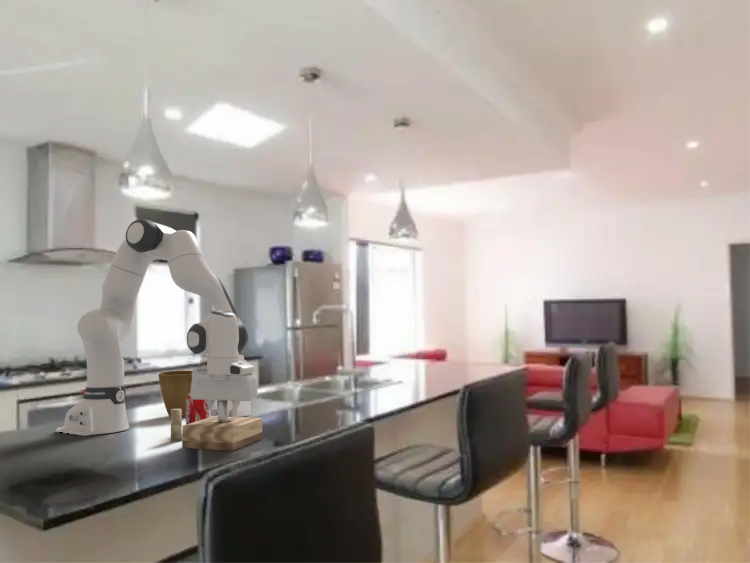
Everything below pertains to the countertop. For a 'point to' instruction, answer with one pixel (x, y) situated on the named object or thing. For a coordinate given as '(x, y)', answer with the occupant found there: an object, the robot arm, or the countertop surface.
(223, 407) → the metal pin
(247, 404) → the milk
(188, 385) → the plant pot
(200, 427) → the bore block
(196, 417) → the soda can
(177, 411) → the birch dowel
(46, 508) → the countertop surface
